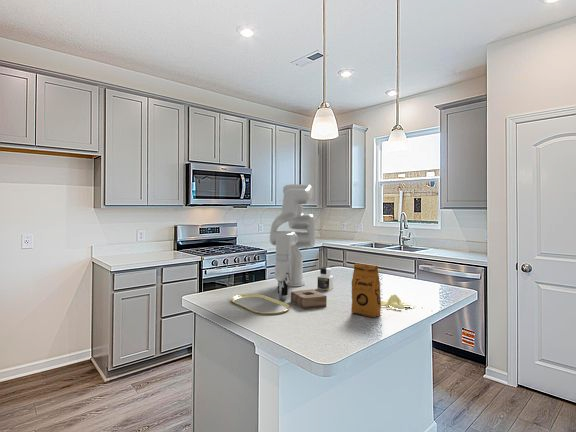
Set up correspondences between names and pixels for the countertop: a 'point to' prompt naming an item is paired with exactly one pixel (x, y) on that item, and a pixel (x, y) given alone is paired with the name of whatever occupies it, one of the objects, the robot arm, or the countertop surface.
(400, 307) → the cloth
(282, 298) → the pin
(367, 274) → the coffee package
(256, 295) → the wavy rubber band
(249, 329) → the countertop surface
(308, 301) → the bore block
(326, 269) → the medicine bottle
